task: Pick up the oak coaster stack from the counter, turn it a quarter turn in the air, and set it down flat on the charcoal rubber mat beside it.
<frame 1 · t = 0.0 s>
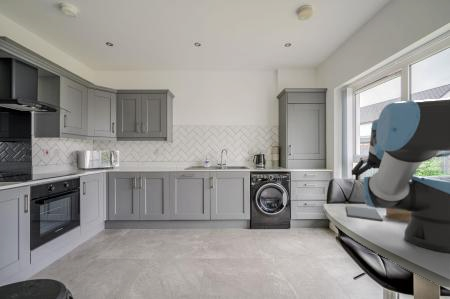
hand: (374, 185, 107), 15 cm above the table, tool tilted 35°, fingers open, 13 cm apart
mat: (362, 213, 111), on the table
donut: (408, 212, 114), on the table
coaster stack: (398, 218, 104), on the table
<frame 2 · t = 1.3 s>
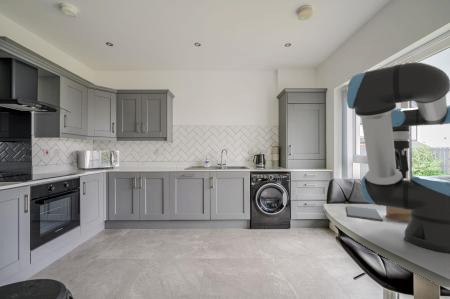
hand: (398, 183, 104), 17 cm above the table, tool pointing down, fingers open, 13 cm apart
nothing on the table moved.
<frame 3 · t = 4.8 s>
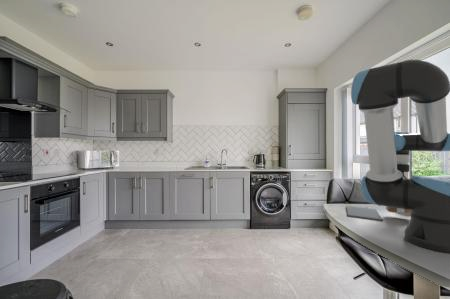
hand: (398, 210, 103), 4 cm above the table, tool pointing down, fingers closed on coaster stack, 6 cm apart
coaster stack: (398, 211, 103), point 3 cm above the table, touching gripper
everything else where it was.
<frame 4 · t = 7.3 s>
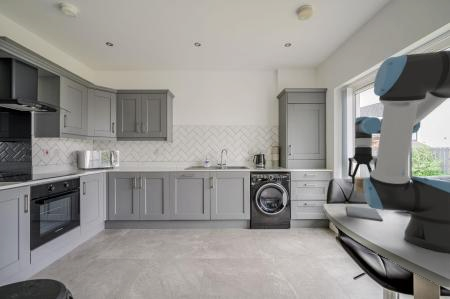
hand: (362, 190, 111), 12 cm above the table, tool pointing down, fingers closed on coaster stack, 6 cm apart
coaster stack: (362, 191, 111), point 11 cm above the table, touching gripper
everything else where it was.
when the fingers open (1 cm above the table, at t = 9.8 s): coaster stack stays where it is, resting on mat.
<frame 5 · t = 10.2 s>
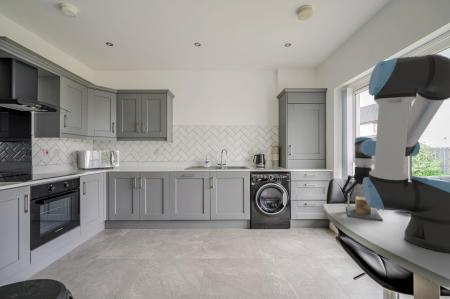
hand: (362, 207, 111), 3 cm above the table, tool pointing down, fingers open, 12 cm apart
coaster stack: (362, 211, 111), point 1 cm above the table, touching mat
everything else where it was.
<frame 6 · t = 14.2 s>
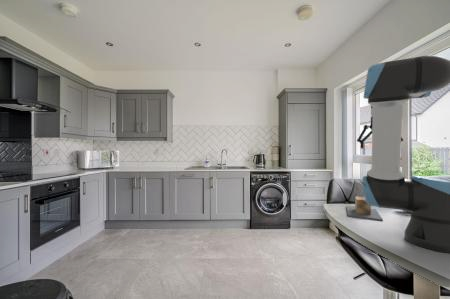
hand: (378, 154, 115), 31 cm above the table, tool pointing down, fingers open, 13 cm apart
nothing on the table moved.
at the end: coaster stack inside the target area on the mat (0.0 cm from its centre), point 0.8 cm above the mat's base; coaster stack tilted 0°; the gripper is holding nothing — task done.
